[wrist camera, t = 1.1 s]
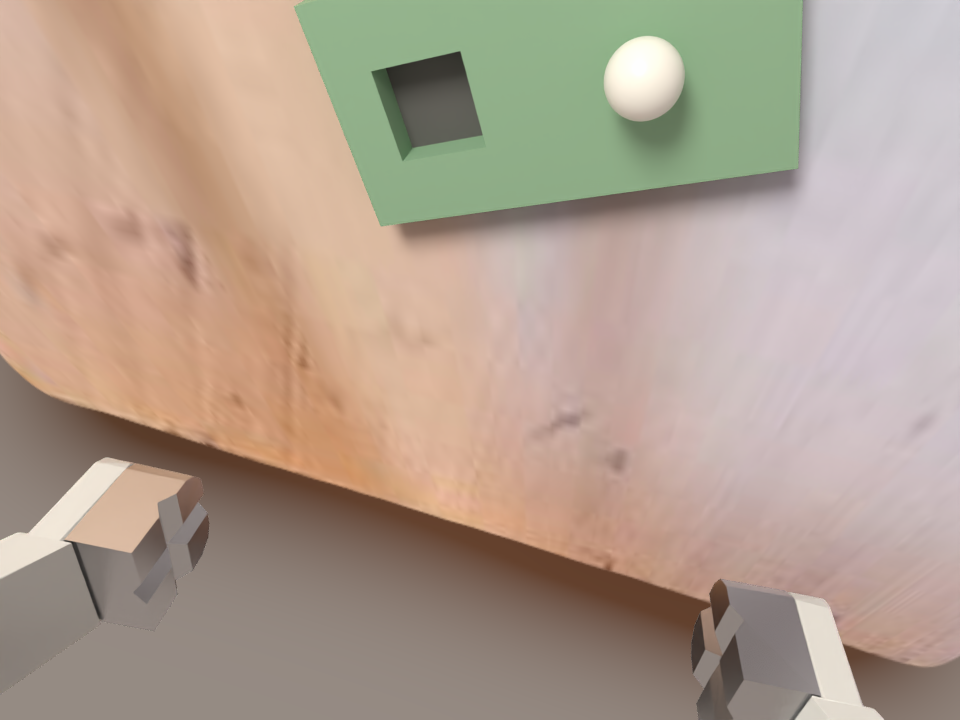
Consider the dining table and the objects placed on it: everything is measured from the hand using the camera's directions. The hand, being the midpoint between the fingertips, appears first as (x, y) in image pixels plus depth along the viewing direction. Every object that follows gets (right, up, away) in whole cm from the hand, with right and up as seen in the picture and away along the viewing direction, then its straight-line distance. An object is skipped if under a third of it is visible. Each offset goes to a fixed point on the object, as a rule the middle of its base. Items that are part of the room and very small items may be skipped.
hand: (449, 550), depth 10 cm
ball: (+9, +17, +23) cm, 30 cm away
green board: (+5, +20, +28) cm, 35 cm away
